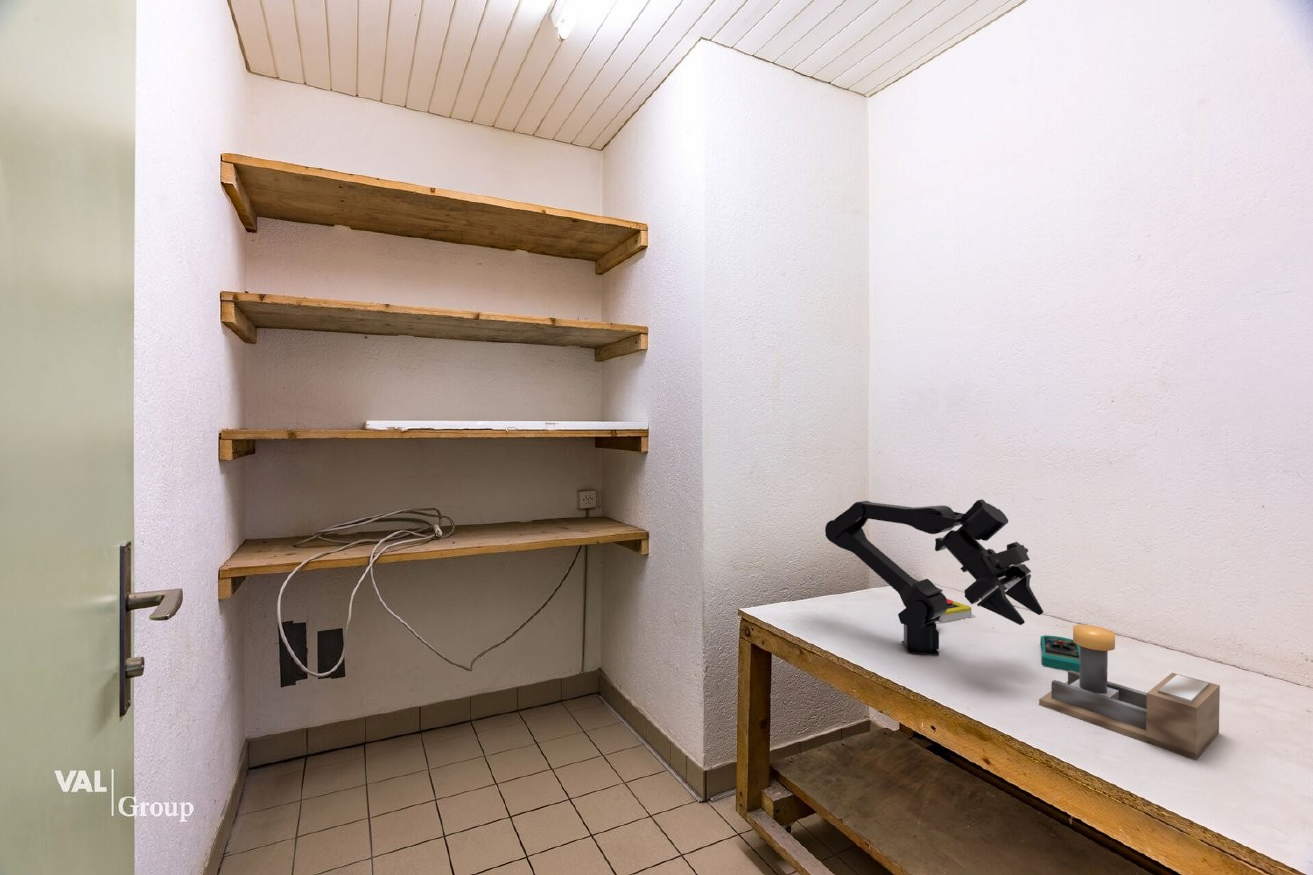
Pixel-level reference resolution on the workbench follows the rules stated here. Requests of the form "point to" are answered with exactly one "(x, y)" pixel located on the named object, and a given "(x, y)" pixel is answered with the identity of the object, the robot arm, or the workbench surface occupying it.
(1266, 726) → the workbench surface
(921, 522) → the robot arm
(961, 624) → the workbench surface
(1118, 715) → the knob mount
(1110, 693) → the knob carriage
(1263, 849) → the workbench surface
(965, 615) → the emergency button
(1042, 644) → the digital multimeter
